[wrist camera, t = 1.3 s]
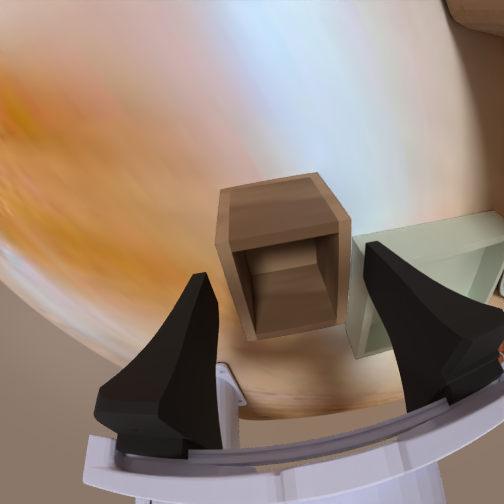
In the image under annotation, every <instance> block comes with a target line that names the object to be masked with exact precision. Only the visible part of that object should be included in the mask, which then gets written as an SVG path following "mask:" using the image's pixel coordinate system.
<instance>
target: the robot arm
mask: <svg viewBox="0 0 504 504" xmlns="http://www.w3.org/2000/svg"><path fill="white" fill-rule="evenodd" d="M363 279H364V282H365V285H366V288H367V291H368V293H369V296H370V298H371V300H372V302H373V304H374V306H375V308H376V310H377V312H378V314H379V316H380V318H381V321H382V323H383V325H384V327H385V329H386V331H387V333H388V336H389V338H390V341H391V344H392V347H393V350H394V354H395V357H396V361H397V364H398V368H399V372H400V376H401V381H402V386H403V390H404V396H405V402H406V409H407V414H404V415H401V416H398V417H396V418H393V419H390V420H387V421H384V422H381V423H377V424H374V425H371V426H367V427H364V428H360V429H357V430H353V431H349V432H346V433H341V434H337V435H333V436H328V437H324V438H318V439H313V440H308V441H302V442H297V443H289V444H282V445H274V446H266V447H255V448H242V449H240V443H239V417H238V406H245V405H246V404H247V402H246V400H245V398H244V396H243V394H242V392H241V391H240V389H239V387H238V385H237V383H236V381H235V380H234V378H233V376H232V374H231V372H230V370H229V368H228V366H227V365H226V364H224V363H217V364H216V359H217V346H218V333H219V308H218V301H217V299H216V296H215V294H214V291H213V289H212V286H211V283H210V281H209V278H208V276H207V273H206V272H203V273H197V274H193V275H192V277H191V278H190V280H189V282H188V284H187V286H186V287H185V289H184V291H183V293H182V294H181V296H180V298H179V300H178V301H177V303H176V305H175V306H174V308H173V310H172V311H171V313H170V314H169V316H168V317H167V319H166V320H165V322H164V323H163V325H162V326H161V328H160V329H159V330H158V332H157V333H156V335H155V336H154V337H153V338H152V340H151V341H150V342H149V343H148V344H147V345H146V347H145V348H144V349H143V350H142V351H141V352H140V353H139V354H138V355H137V356H136V357H135V358H134V359H133V360H132V361H131V362H130V363H129V364H128V365H127V366H126V367H125V368H124V369H123V370H122V371H120V373H118V374H117V375H116V376H114V377H113V378H112V379H111V380H109V381H108V382H107V383H105V384H104V385H103V386H101V387H100V389H99V393H98V396H97V401H96V405H95V410H94V417H95V418H96V420H97V421H98V422H100V423H101V424H103V425H104V426H106V427H107V428H109V429H111V430H112V431H114V432H116V433H117V434H118V436H117V440H116V439H114V438H110V437H105V436H99V435H94V434H91V435H90V436H89V442H88V447H87V454H86V460H85V468H84V475H83V483H85V484H88V485H91V486H94V487H97V488H101V489H104V490H108V491H112V492H116V493H119V494H123V495H128V496H132V497H136V502H135V504H447V503H446V498H445V493H444V489H443V484H442V480H441V475H440V471H439V468H438V463H437V460H439V459H441V458H444V457H446V456H447V455H449V454H451V453H453V452H455V451H457V450H459V449H460V448H462V447H464V446H466V445H468V444H469V443H471V442H473V441H474V440H476V439H478V438H479V437H481V436H482V435H484V434H486V433H487V432H489V431H490V430H492V429H493V428H495V427H496V426H497V425H499V424H500V423H502V422H503V421H504V361H503V362H502V363H501V364H500V362H499V360H498V358H499V357H500V353H499V351H498V348H499V347H500V345H501V344H502V343H503V341H504V312H503V310H502V309H500V308H497V307H493V306H490V305H487V304H483V303H481V302H478V301H475V300H473V299H470V298H468V297H466V296H463V295H461V294H459V293H457V292H455V291H453V290H451V289H449V288H447V287H445V286H443V285H442V284H440V283H438V282H436V281H435V280H433V279H431V278H430V277H428V276H427V275H425V274H424V273H422V272H421V271H419V270H418V269H416V268H415V267H413V266H412V265H410V264H409V263H408V262H406V261H405V260H404V259H402V258H401V257H399V256H398V255H397V254H395V253H394V252H393V251H391V250H390V249H389V248H387V247H386V246H385V245H383V244H382V243H380V242H379V241H372V242H367V243H365V256H364V267H363ZM400 434H401V435H400ZM398 435H399V436H398ZM395 436H398V437H397V440H396V441H392V442H388V443H385V444H382V445H379V446H375V447H372V448H369V449H365V450H362V451H358V452H355V453H351V454H347V455H343V456H339V457H334V458H330V459H326V460H320V461H315V462H309V463H305V464H300V465H295V466H291V467H286V468H281V469H274V470H267V471H260V472H257V471H256V468H254V467H246V466H259V465H269V464H279V463H287V462H294V461H301V460H307V459H312V458H318V457H322V456H327V455H332V454H336V453H341V452H344V451H349V450H352V449H356V448H360V447H364V446H367V445H370V444H374V443H377V442H380V441H383V440H386V439H389V438H392V437H395Z"/></svg>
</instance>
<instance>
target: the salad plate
mask: <svg viewBox="0 0 504 504" xmlns="http://www.w3.org/2000/svg"><path fill="white" fill-rule="evenodd" d="M496 287H497V290H498V293H499V294H500V295H501V296H503V297H504V269H503V272H502V274H501V276H500V279H499V281H498V283H497V285H496Z"/></svg>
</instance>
